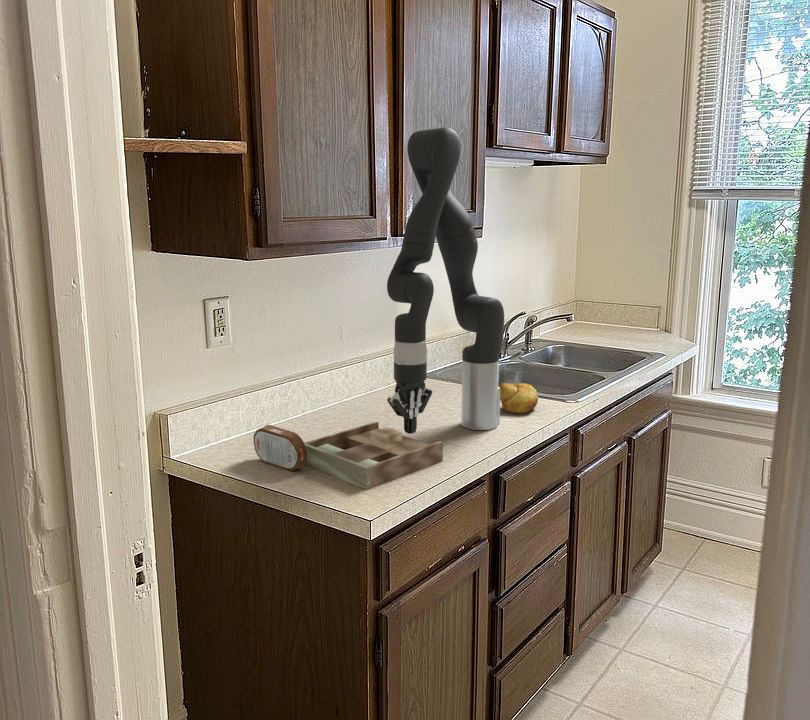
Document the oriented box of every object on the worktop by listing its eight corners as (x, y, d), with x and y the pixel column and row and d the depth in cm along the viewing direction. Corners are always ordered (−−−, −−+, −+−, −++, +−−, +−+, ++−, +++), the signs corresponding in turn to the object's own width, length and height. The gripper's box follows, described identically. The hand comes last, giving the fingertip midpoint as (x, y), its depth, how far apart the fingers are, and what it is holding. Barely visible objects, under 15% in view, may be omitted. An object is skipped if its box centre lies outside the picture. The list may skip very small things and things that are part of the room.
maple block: (386, 439, 174) (386, 427, 174) (402, 444, 171) (401, 431, 170) (370, 444, 171) (370, 431, 170) (385, 449, 167) (385, 436, 167)
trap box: (376, 439, 184) (376, 421, 183) (442, 461, 169) (442, 441, 168) (301, 463, 168) (300, 443, 167) (367, 489, 153) (366, 468, 152)
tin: (309, 471, 163) (307, 434, 161) (298, 475, 161) (297, 437, 159) (262, 456, 172) (261, 421, 171) (251, 460, 170) (250, 424, 168)
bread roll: (517, 401, 217) (517, 374, 215) (547, 407, 211) (548, 379, 209) (493, 411, 207) (493, 383, 205) (524, 417, 201) (525, 388, 199)
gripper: (418, 353, 179) (418, 423, 183) (377, 361, 170) (378, 435, 174) (442, 357, 174) (441, 429, 178) (401, 367, 165) (401, 442, 169)
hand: (410, 432), depth 176 cm, fingers closed
